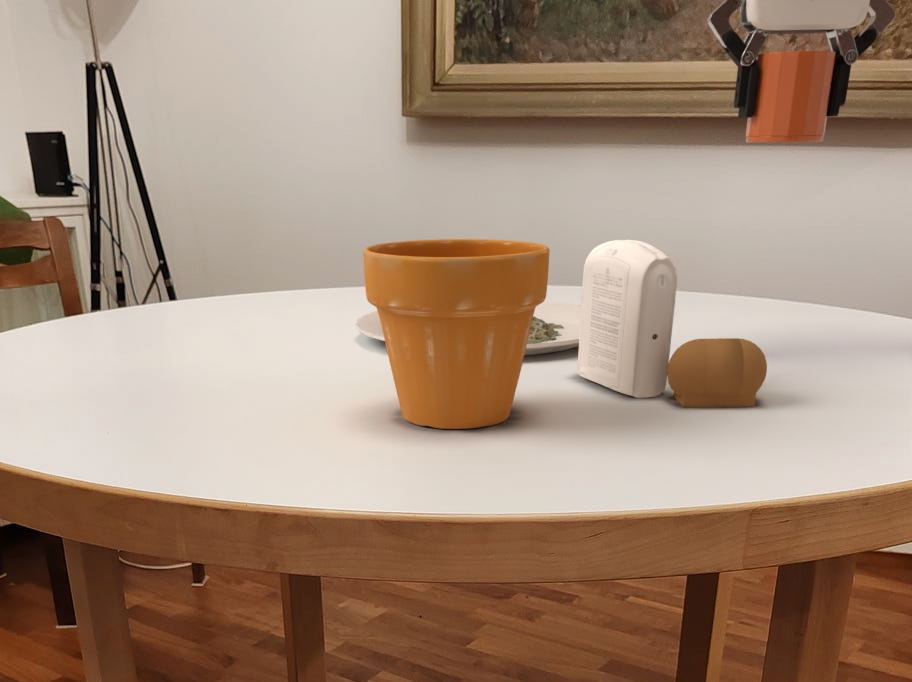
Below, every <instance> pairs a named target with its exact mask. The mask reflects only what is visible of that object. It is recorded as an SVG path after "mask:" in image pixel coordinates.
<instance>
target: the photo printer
mask: <svg viewBox="0 0 912 682" xmlns="http://www.w3.org/2000/svg"><path fill="white" fill-rule="evenodd" d="M582 276H583V277H582V290H581V291H582V292H581V304H580V305H581V321H580V336H579V346H578V352H577V373H578V375H579V376H580V377H582V378H584V379H587V380H588V381H590V382H594V383H596V384H598V385H601V386H603V387H606V388H609V389H611V390H613V391H616V392H619V393H620V394H624V395H627V396H630V397H632V398H634V399H648V398H655V397H658V396H660V395H661V394H662V393H663V392H665V390H666V386H667V382H668V377H667V368H668V364H669V361H670V355H671V354H670V353H671V345H672V334H673V326H674V317H675V307H676V296H677V286H678V271H677V268H676V265H675V264H674V262H673V260H672V259H671V258H670V257H669V256H668V255H667V254H666V253H664V252H663V251H662V250H660V249H659V248H657V247H656V246H654V245H652V244H650V243H648V242H644V241H641V240H636V239H615V240H609V241H606V242H603V243H601V244H598V245H597V246H595V247H594V248H593V249H592V250H591V251H590V252H589V254H588V255H587V257H586V259H585V262H584V265H583V273H582Z"/></svg>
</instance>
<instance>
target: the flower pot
mask: <svg viewBox="0 0 912 682" xmlns="http://www.w3.org/2000/svg"><path fill="white" fill-rule="evenodd" d="M550 252H551V251H550V248H549V246H547V245H545V244H543V243H537V242H529V241H521V240H509V239H508V240H507V239H487V238H486V239H485V238H483V239H482V238H439V239H437V238H436V239H415V240H400V241H391V242H383V243H376V244H373V245H370V246H367V247H365V248H363V255H362V256H363V271H364V272H363V273H364V285H365V286H364V288H365V295H366V300H367V302H368V303H369V304H370V305H372V306H374V307H375V308H376V311H378V314H379V318H380V322H381V326H382V330H383V334H384V339H385V341H384V342H385V347H386V352H387V356H388V361H389V365H390V370H391V373H392V377H393V382H394V386H395V390H396V391H395V392H396V395H397V399H398V403H399V407H400V411H401V415H402V417H403V419H404V420H405V421H407V422H408V423H410V424H413V425H417V426H422V427H426V426H427V427H431V428H434V429H444V430H445V429H446V430H447V429H448V430H450V429H451V430H464V429H477V428H483V427H484V428H485V427H488V426H489V427H490V426H494V425H498V424H500V423H502V422H504V421H507V419H508V418H509V417H510V415H511V411H512V408H513V403H514V399H515V396H516V395H515V394H516V390H517V387H518V383H519V379H520V376H521V371H522V367H523V364H524V358H525V355H524V354H525V350H526V345H527V340H528V336H529V331H530V327H531V323H532V318H533V315H534V311H535V308H536V306H538V305H539V304H541V303H542V302H543V301H545V300H546V298H547V293H548V283H549V266H550Z"/></svg>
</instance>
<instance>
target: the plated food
mask: <svg viewBox="0 0 912 682" xmlns="http://www.w3.org/2000/svg"><path fill="white" fill-rule="evenodd" d="M581 305H582V304H575V303H568V302H560V301H559V302H558V301H549V300H548V301H545V300H544V301H543V302H542V303H541V304H539V305H538V306H536V308H535V311H534V315H533V318H532V323H531V327H530V331H529V336H528V340H527V345H526V350H525V354H524V356H531V355H541V354H550V353H556V352H562V351H566V350H570V349H574V348H579V336H580V321H581ZM355 328H356V330H357V331H358V332H359V333H360V334H362V335H365V336H366V337H368V338H371V339H372V338H373V339H376V340H380V341H382V342H385V339H384V334H383V330H382V326H381V322H380V318H379V314H378V310H375V311H372V312H370V313H367V314H364V315H362V316H361V317H359V318H358V319H357V321H356V323H355Z"/></svg>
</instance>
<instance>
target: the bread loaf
mask: <svg viewBox="0 0 912 682" xmlns="http://www.w3.org/2000/svg"><path fill="white" fill-rule="evenodd" d="M767 363H768V361H767V359H766V356H765V353H764V352H763V350H762V349H761V348H760V347H759V345H757V344H756V343H754V342H753V341H751V340H748V339H745V338H737V337H735V338H726V337H725V338H695V339H691V340H689V341H687V342H684V343H683V344H682V345H680V346H678V347H677V348H676V350H675V351H674V352H673V353H672V355H671V357H670V358H669V364H668V368H667V382H668V385H669V387H670V388H671V390H672V391H673V395H672V397H673V398H674V399H675V400H676V401H677V402H678V403H679V404H680V405H681V407H682V408H743V407H745V408H746V407H755V404H756V399H757V392H758V391H759V390H760V389H761V387H763V385H764V383H765V380H766V378H767V373H768V364H767Z"/></svg>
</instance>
